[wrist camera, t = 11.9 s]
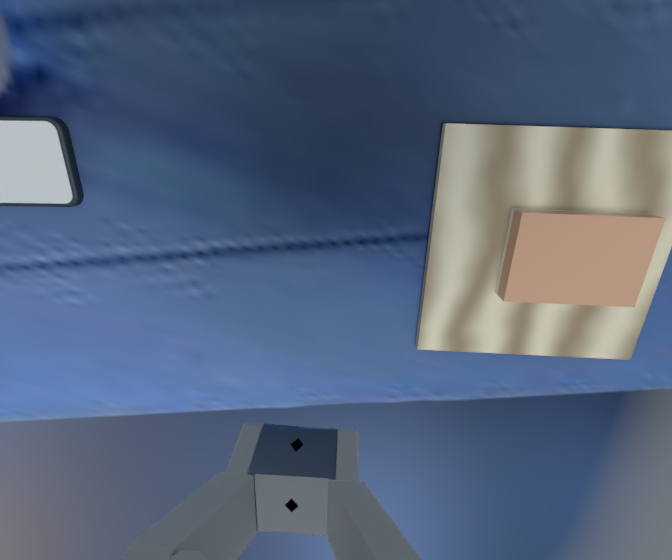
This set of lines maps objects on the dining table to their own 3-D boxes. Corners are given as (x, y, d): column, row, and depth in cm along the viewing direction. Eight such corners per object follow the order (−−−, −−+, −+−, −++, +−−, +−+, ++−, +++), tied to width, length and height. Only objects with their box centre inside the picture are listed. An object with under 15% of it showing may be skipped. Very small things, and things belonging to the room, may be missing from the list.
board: (415, 343, 44) (417, 349, 43) (442, 123, 35) (445, 123, 34) (622, 354, 43) (630, 359, 42) (701, 132, 35) (713, 131, 34)
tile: (522, 212, 35) (665, 218, 34) (511, 208, 37) (646, 213, 36) (503, 301, 38) (634, 307, 37) (495, 292, 40) (618, 297, 40)
